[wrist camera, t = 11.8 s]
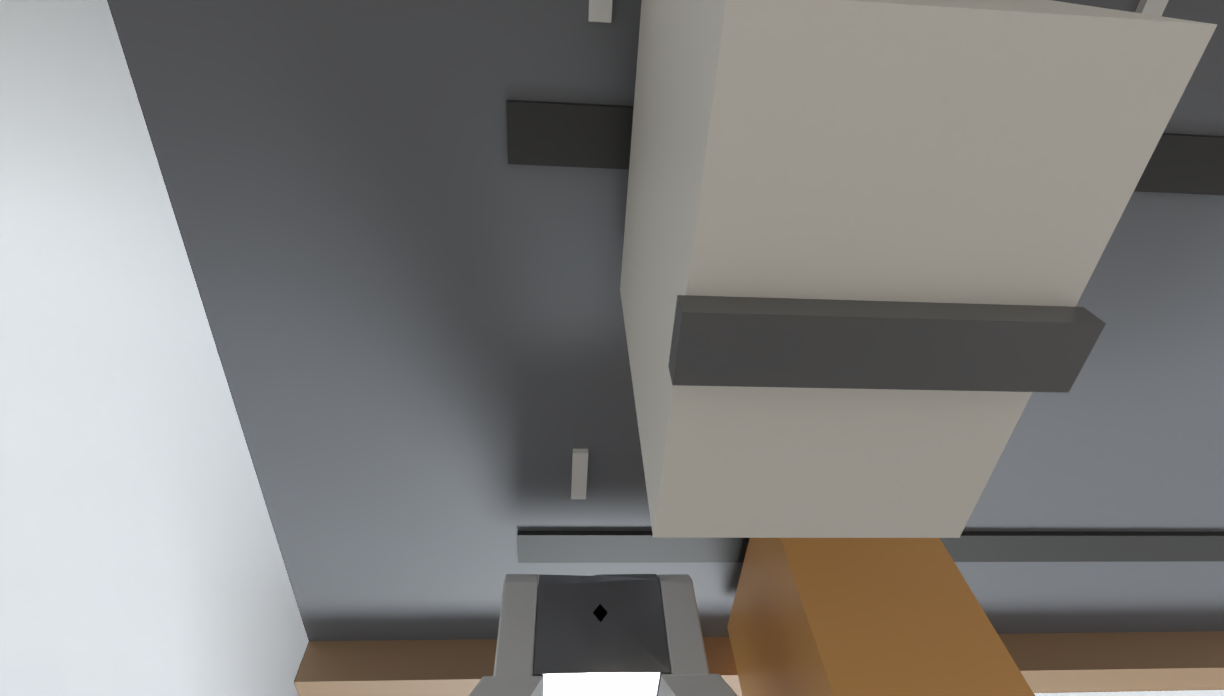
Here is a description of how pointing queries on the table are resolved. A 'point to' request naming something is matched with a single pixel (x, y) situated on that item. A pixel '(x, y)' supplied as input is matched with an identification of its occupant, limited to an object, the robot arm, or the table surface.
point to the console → (611, 344)
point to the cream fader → (870, 245)
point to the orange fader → (863, 622)
